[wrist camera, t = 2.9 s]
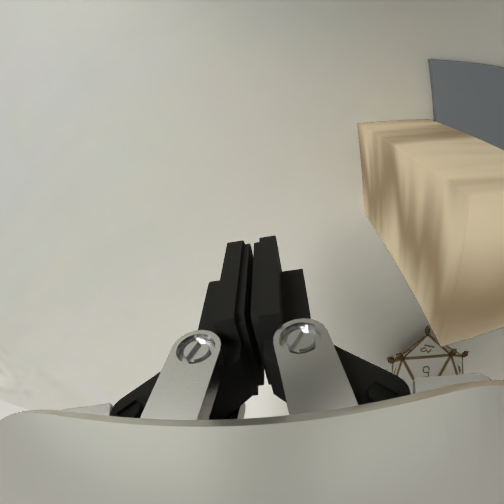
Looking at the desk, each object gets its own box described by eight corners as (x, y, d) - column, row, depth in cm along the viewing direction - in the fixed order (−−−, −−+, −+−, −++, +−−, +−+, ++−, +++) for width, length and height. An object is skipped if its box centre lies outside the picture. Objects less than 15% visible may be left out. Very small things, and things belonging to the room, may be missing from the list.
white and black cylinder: (233, 340, 27) (223, 445, 18) (310, 325, 26) (325, 433, 17) (255, 383, 30) (252, 475, 21) (322, 371, 29) (334, 465, 20)
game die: (418, 311, 30) (499, 342, 21) (398, 380, 31) (468, 417, 23) (370, 326, 25) (472, 372, 17) (347, 407, 26) (430, 459, 18)
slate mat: (428, 59, 15) (431, 59, 14) (534, 73, 13) (537, 74, 13) (430, 251, 22) (432, 254, 21) (523, 233, 20) (526, 236, 20)
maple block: (357, 123, 17) (470, 196, 7) (428, 119, 17) (567, 186, 7) (364, 212, 20) (440, 346, 10) (429, 203, 20) (530, 317, 10)
